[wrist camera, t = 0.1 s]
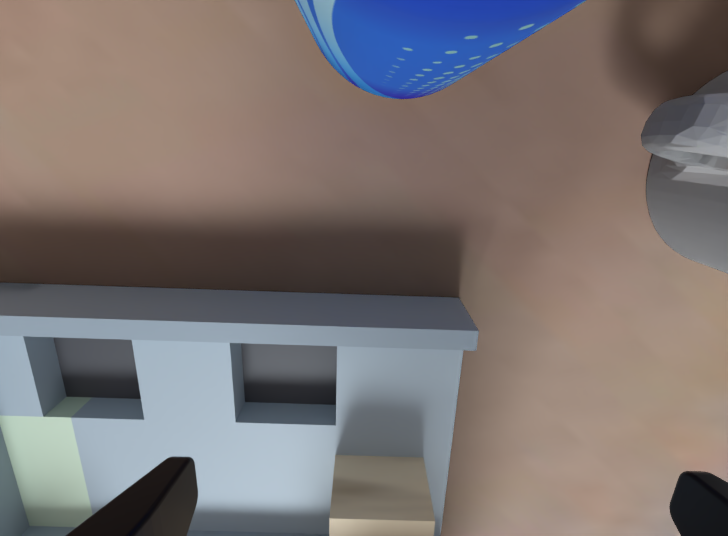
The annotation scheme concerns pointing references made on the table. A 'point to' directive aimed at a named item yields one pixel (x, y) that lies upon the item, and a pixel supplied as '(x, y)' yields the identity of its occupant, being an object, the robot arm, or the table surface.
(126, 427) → the box
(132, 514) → the robot arm
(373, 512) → the beech block
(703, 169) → the coffee mug
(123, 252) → the table surface
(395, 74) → the beer can
